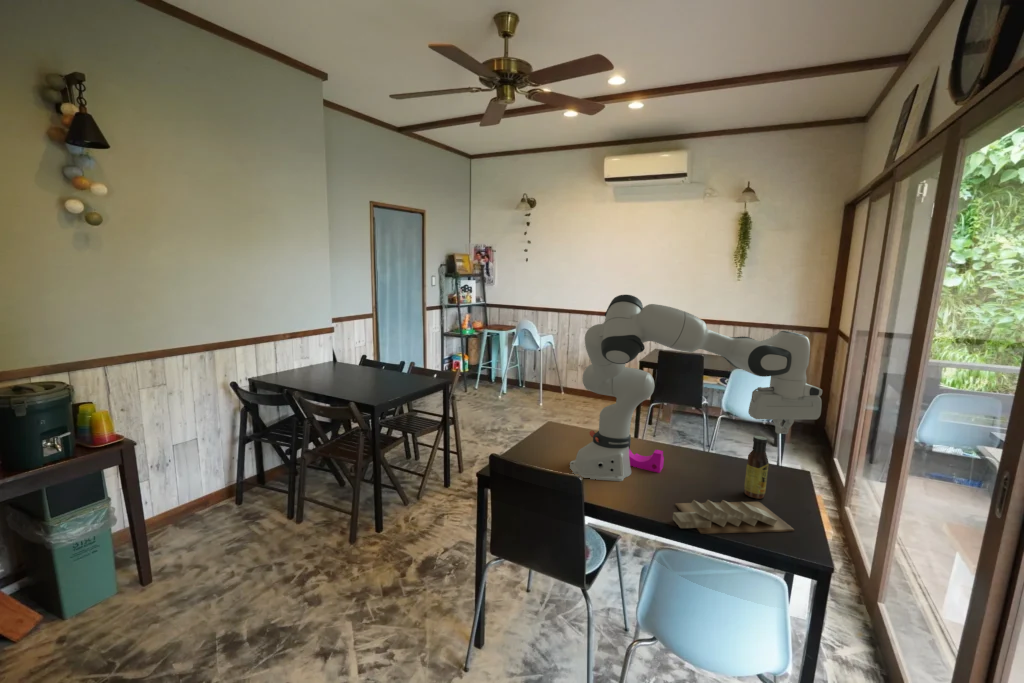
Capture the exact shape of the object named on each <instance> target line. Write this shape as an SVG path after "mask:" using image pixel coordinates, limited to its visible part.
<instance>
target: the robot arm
mask: <svg viewBox="0 0 1024 683" xmlns="http://www.w3.org/2000/svg"><path fill="white" fill-rule="evenodd" d="M604 316H605V317H604V321H603V323H600V324H599V323H598V324H594V325H592V326H590V327H589V328H588V329H587V331H586V332H585V335H584V345H585V350H586V353H587V355H588V358H589V359H590V360H589V361H590V363H591V364H589V365H588V366H587V367H586V368H584V371H583V374H582V383H583V386H584V388H585V389H586V390H587V391H590V392H591V393H592V392H593V393H595V394H598V395H604V396H609V397H615V398H616V401H615V403H613V404H609V405H607V406H604V407H603V408H602V409H601V410H600V413H599V420H598V421H599V422H598V430H597V431H596V432H595V431H594V430H590V431H589V436H590V437H591V438H592V441H590V442H589V443H588V444H586V445H584V446H583V447H581V448H580V449H579V450H578V451H577V453H576V457H575V459H574V460H571V461H570V462H569V465H570V467H569V470H570V469H571V470H572V471H573V472H571V473H572V474H573V473H574V474H579V475H581V476H582V477H584V478H590V479H589V480H595V479H596V481H598V480H599V481H609V482H610V481H611V482H623V481H624V479H625V478H627V477H629V476H631V475H632V468H631V467H632V466H630V460H629V449H630V450H631V445H632V444H631V443H632V440H631V439H632V438H631V436H632V435H631V434H630V433H631V423H632V420H633V419H632V418H633V414H634V412H635V410H636V408H637V407H638V406H639V405H640V404H641V403H643V402H644V401H646V400H648V399H649V398H650V397H651V396H652V395H653V393H654V391H655V387H656V386H655V380H654V377H653V375H652V374H651V373H650V372H648V371H646V370H642V369H640V368H639V369H638V368H633V367H629V366H628V367H626V364H628V363H630V362H632V361H633V360H635V358H637V356H638V355H639V354H641V353H643V352H644V351H645V350H646V349H645V348H646V347H645V345H644V343H646V342H653V343H655V344H660V345H661V346H664V347H667V348H669V349H673V350H676V351H681V352H687V353H694V352H696V351H698V350H702V351H703V350H704V351H706V352H709V353H712V354H714V355H718V356H720V357H723V358H724V359H725V361H727V363H729V364H730V365H731V366H732V367H735V368H736V369H739V370H742V371H745V372H747V373H749V374H752V375H754V376H757V377H763V378H764V377H765V378H766V377H770V380H769V386H765V387H762V386H759V387H758V386H757V388H755V389H754V390H753V391H752V392H751V398H750V402H749V405H748V406H749V407H748V415H749V416H750V417H751V418H753V419H755V420H772V422H773V423H772V424H774V427H775V428H774V429H775V430H774V431H775V433H776V434H778V435H781V434H783V435H787V434H789V430H790V428H791V427H792V426H793V424H795V423H794V422H795V420H818V419H819V418H820V417H821V414H822V398H821V396H822V394H823V389H821V388H820V387H817V386H815V385H811V384H810V383H808V382H807V379H808V378H807V369H808V367H809V364H810V355H811V354H810V353H811V352H810V351H811V344H810V343H811V342H810V338H808V337H807V335H805V334H802V333H797V332H793V331H789V330H780V331H779V332H778V333H777V334H774V335H773V336H771V337H769V338H767V339H764V340H758V339H755V338H752V337H749V336H728V335H725V334H721V333H719V332H717V331H713V330H712V329H709V328H708V327H707V324H706V322H705V321H704V320H703V319H701V318H699V317H698V316H696V315H694V314H692V313H690V312H688V311H684V310H681V309H678V308H675V307H671V306H667V305H663V304H656V303H649V304H647V305H645V306H643V303H642V301H641V300H640V299H639V298H638V297H637V296H635V295H631V294H620V295H616V296H615V297H614V298H613V299H612V300H611V302H610V303H609V304H608V307H607V309H606V311H605V312H604ZM783 420H784V421H785V422H784V423H783V425H781V423H782V422H783ZM571 470H570V471H571ZM574 474H573V475H574Z"/></svg>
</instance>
